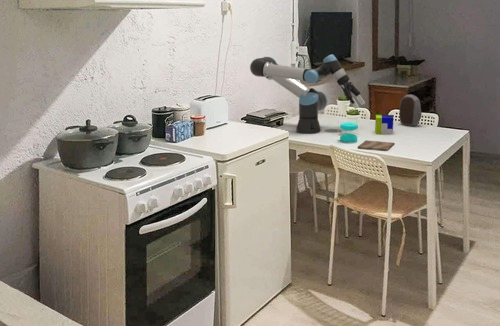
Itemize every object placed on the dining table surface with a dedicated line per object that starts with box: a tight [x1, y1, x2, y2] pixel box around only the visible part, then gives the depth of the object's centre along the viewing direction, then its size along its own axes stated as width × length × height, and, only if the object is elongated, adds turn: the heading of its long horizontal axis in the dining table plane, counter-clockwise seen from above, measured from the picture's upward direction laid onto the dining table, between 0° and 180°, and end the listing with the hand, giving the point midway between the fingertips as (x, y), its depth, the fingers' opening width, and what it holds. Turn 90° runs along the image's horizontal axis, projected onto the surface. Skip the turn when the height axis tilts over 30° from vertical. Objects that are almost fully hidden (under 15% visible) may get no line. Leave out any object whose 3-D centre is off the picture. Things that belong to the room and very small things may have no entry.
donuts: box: [339, 122, 359, 143], centre depth 302 cm, size 10×10×10 cm
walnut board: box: [357, 140, 395, 152], centre depth 288 cm, size 16×16×1 cm
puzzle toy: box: [374, 114, 394, 135], centre depth 320 cm, size 10×10×10 cm
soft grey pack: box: [398, 94, 423, 126], centre depth 338 cm, size 15×8×20 cm, turn 36°
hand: (360, 106), depth 325 cm, fingers open, 13 cm apart
